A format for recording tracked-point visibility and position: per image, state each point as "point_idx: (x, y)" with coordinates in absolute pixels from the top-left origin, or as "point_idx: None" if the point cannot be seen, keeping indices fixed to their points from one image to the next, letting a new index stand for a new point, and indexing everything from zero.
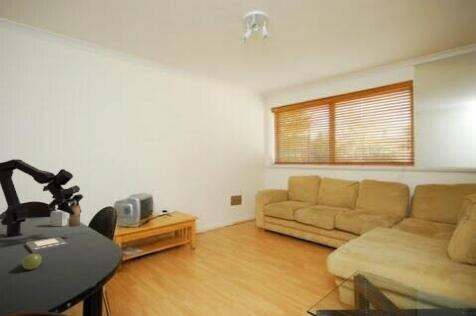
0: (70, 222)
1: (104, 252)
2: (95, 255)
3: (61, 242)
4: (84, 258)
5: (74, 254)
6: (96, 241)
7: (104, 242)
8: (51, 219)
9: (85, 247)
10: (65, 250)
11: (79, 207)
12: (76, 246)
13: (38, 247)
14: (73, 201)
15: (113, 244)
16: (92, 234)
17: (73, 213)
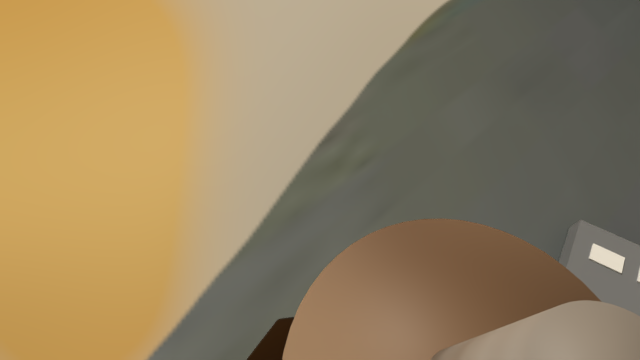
0: None
1: (529, 3)
2: (579, 10)
3: (598, 294)
4: (633, 22)
5: (634, 87)
6: (406, 133)
7: (405, 84)
8: None
9: (525, 113)
10: (632, 175)
11: (409, 231)
12: (542, 172)
13: None
14: None
15: (417, 32)
16: (253, 284)
17: None
